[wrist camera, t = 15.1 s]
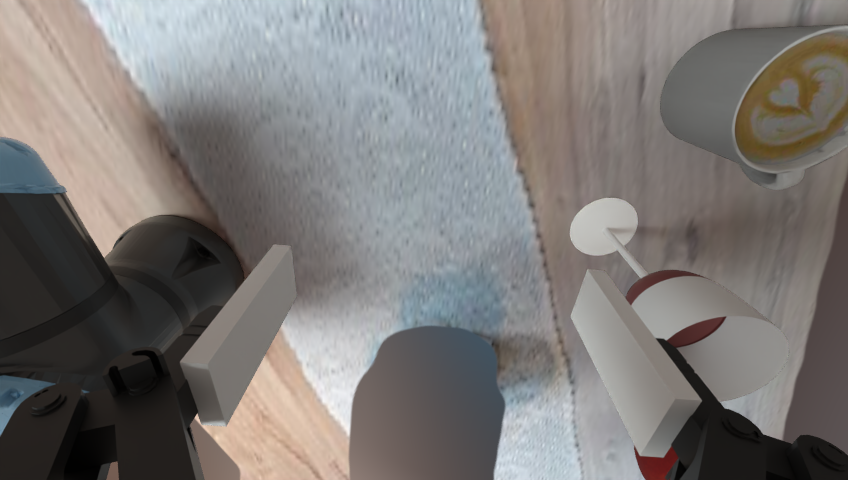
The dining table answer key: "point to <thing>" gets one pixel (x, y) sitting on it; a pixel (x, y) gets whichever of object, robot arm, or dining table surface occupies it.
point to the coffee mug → (763, 99)
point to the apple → (656, 464)
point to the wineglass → (689, 309)
